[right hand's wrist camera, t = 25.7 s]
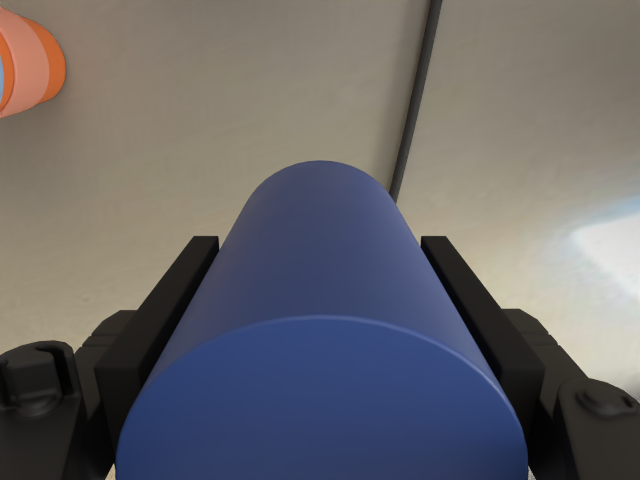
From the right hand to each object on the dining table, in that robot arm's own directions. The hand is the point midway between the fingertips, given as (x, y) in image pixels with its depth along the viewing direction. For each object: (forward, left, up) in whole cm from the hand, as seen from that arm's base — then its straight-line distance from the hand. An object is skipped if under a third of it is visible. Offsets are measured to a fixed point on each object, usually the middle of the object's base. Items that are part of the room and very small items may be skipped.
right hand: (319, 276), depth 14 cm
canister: (0, 0, -3) cm, 3 cm away
